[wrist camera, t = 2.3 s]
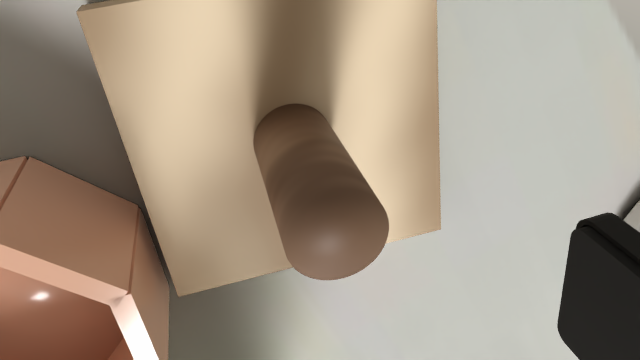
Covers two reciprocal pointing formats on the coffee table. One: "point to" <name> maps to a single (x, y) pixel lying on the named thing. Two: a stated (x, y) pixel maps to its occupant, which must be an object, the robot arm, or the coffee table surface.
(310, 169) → the lid
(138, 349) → the bowl
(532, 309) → the coffee table surface
